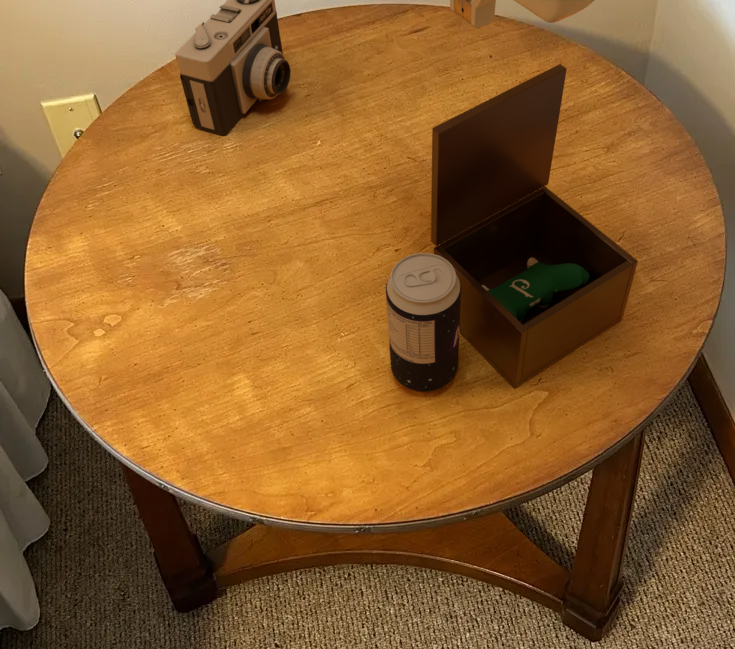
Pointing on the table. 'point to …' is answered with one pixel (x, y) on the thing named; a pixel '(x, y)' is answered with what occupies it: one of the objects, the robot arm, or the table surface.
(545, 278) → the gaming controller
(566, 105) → the table surface
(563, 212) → the chest
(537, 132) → the lid
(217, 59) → the camera
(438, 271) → the beverage can
